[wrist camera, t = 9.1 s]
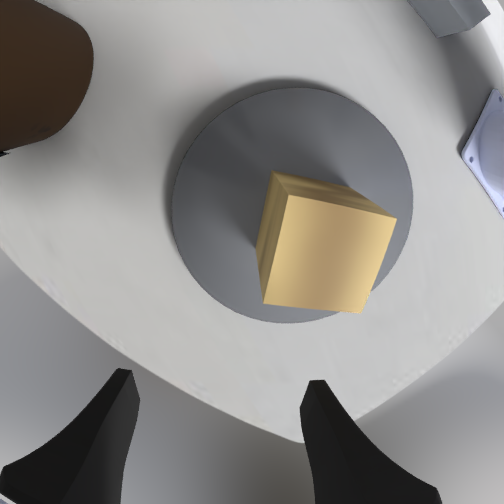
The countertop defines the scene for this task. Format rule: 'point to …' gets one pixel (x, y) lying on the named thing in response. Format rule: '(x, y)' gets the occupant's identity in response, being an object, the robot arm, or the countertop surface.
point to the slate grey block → (450, 14)
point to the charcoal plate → (257, 180)
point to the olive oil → (39, 71)
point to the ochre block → (319, 244)
